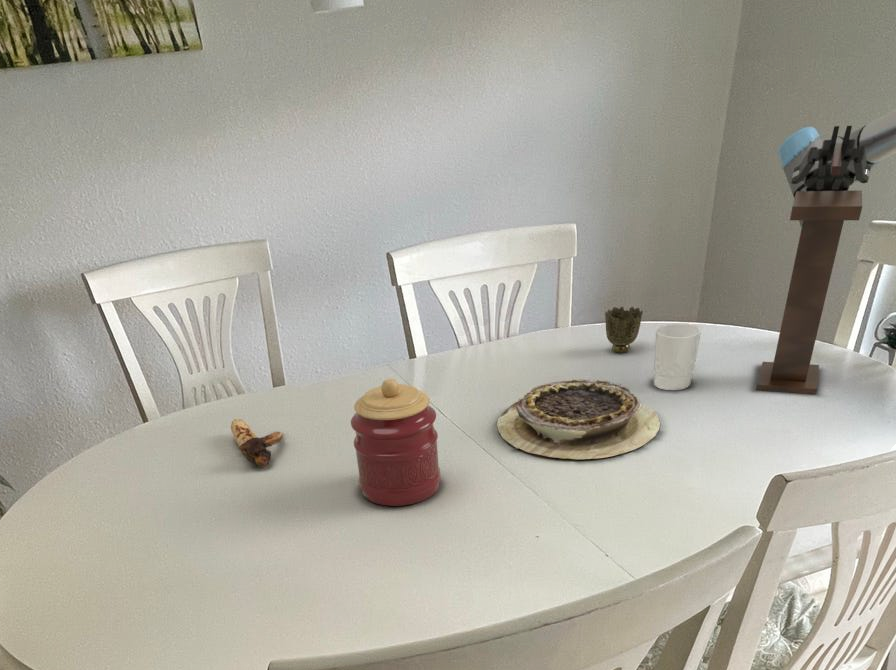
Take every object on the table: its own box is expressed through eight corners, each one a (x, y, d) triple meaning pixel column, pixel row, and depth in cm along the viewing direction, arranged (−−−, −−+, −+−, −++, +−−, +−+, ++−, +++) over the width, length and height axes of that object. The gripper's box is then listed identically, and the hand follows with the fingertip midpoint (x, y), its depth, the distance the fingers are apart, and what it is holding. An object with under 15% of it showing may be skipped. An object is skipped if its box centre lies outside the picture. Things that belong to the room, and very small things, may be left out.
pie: (691, 432, 132) (695, 403, 128) (557, 477, 123) (558, 447, 120) (589, 383, 152) (591, 357, 149) (468, 419, 143) (467, 392, 140)
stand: (818, 370, 148) (862, 190, 129) (815, 394, 139) (862, 206, 120) (761, 366, 151) (796, 191, 132) (756, 390, 143) (792, 206, 124)
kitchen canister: (403, 461, 132) (392, 357, 121) (457, 484, 124) (452, 375, 113) (344, 491, 125) (327, 383, 114) (397, 516, 118) (385, 404, 107)
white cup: (642, 381, 150) (647, 328, 144) (677, 373, 152) (683, 320, 146) (666, 395, 144) (672, 340, 138) (702, 386, 146) (710, 331, 140)
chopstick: (840, 150, 136) (842, 142, 135) (839, 174, 120) (841, 166, 120) (832, 151, 136) (834, 143, 135) (830, 175, 121) (832, 166, 120)
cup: (599, 355, 162) (601, 316, 157) (606, 344, 168) (609, 305, 163) (635, 358, 160) (639, 317, 155) (641, 345, 165) (645, 306, 160)
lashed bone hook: (299, 463, 136) (271, 425, 148) (296, 438, 133) (267, 401, 145) (247, 475, 133) (223, 435, 146) (242, 450, 130) (218, 411, 143)
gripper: (790, 170, 152) (799, 111, 130) (872, 168, 147) (895, 107, 125) (782, 212, 153) (789, 161, 131) (862, 211, 148) (884, 158, 126)
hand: (841, 135), depth 128 cm, fingers closed on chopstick
